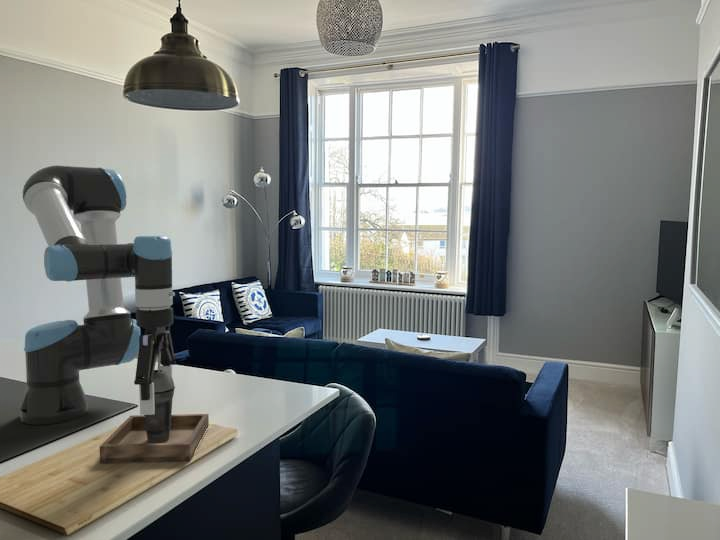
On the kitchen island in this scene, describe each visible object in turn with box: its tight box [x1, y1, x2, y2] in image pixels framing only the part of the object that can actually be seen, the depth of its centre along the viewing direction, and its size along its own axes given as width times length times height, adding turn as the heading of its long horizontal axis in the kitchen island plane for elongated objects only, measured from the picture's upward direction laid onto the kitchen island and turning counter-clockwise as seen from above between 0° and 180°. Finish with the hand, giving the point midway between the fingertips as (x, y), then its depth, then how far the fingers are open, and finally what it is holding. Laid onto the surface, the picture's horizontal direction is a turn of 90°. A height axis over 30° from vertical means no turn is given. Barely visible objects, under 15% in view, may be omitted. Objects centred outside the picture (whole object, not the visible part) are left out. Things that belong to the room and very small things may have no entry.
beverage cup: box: [143, 351, 176, 443], centre depth 119 cm, size 7×7×20 cm
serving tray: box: [98, 413, 210, 464], centre depth 120 cm, size 18×18×4 cm
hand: (157, 403), depth 119 cm, fingers open, 13 cm apart
